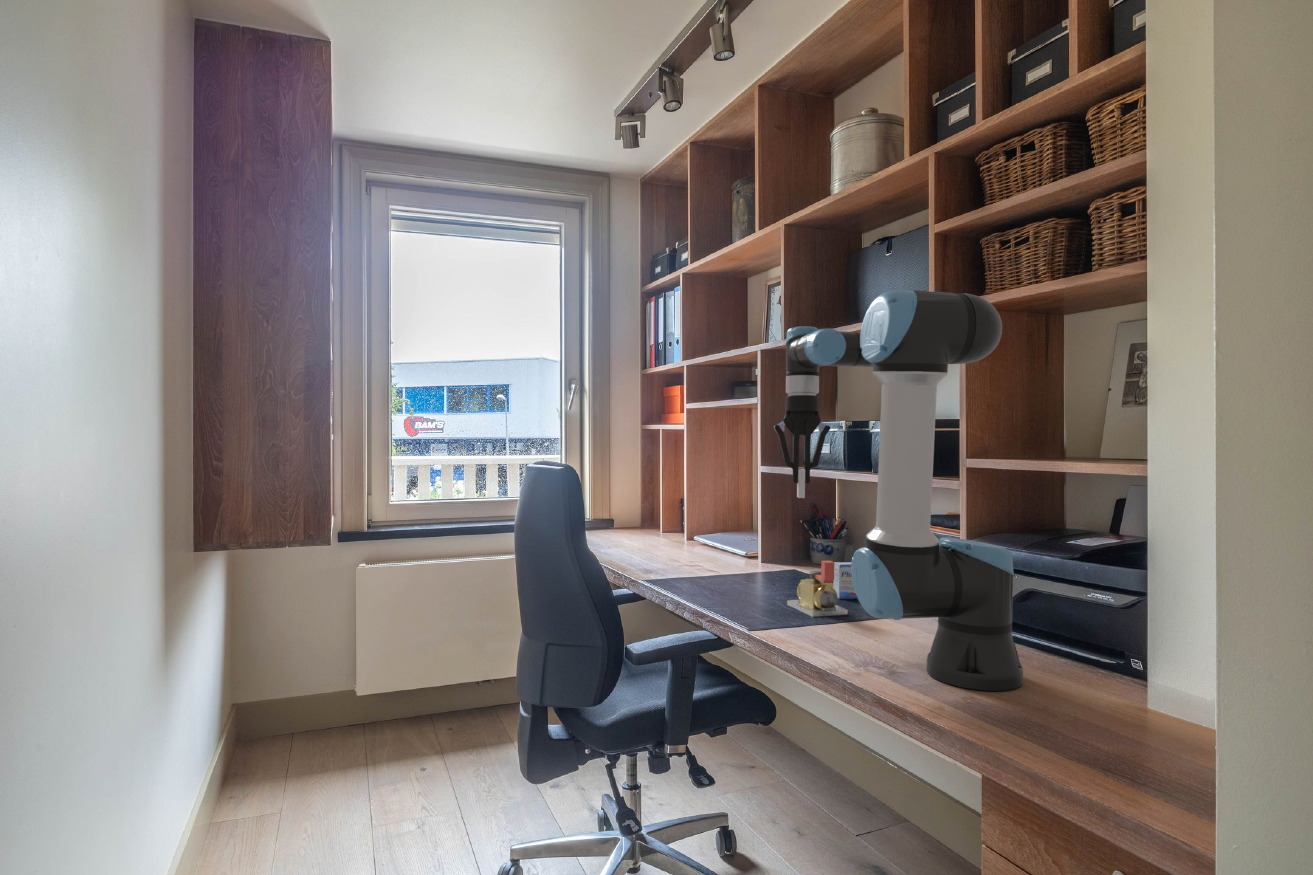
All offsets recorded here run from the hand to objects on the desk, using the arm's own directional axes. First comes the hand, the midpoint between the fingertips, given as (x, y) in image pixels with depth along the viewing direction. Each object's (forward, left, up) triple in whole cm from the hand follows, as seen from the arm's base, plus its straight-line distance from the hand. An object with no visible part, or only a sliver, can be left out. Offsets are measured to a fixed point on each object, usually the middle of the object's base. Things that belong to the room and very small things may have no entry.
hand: (800, 497), depth 169 cm
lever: (-2, -4, -19) cm, 20 cm away
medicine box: (+10, -20, -27) cm, 35 cm away
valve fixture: (+1, -5, -26) cm, 27 cm away
